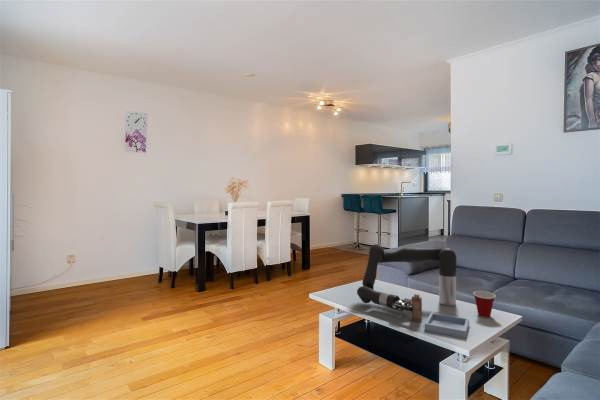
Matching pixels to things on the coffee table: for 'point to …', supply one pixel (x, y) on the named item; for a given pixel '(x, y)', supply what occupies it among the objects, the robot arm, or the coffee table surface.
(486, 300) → the plastic cup
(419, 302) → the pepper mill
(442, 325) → the bin
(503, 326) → the coffee table surface
